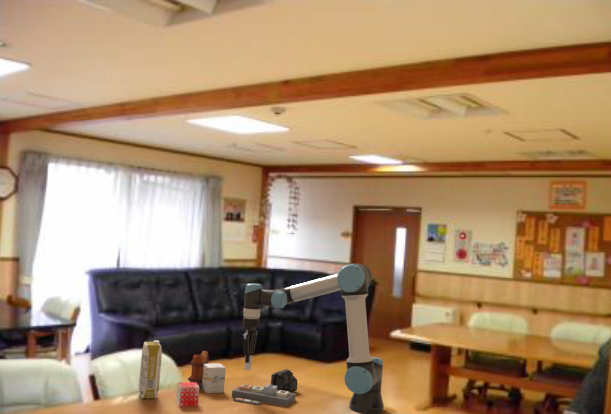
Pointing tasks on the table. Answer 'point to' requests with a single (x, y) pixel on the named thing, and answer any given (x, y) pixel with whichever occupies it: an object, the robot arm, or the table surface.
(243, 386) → the key terracotta
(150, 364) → the juice carton
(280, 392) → the key ivory
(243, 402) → the tile
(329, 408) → the table surface
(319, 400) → the table surface
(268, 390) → the key slate
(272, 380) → the camera
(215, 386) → the ink box
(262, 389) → the key sage
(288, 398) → the keypad base
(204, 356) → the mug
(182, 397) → the small box
